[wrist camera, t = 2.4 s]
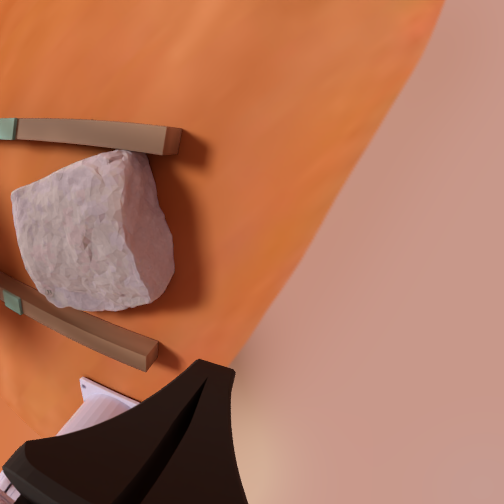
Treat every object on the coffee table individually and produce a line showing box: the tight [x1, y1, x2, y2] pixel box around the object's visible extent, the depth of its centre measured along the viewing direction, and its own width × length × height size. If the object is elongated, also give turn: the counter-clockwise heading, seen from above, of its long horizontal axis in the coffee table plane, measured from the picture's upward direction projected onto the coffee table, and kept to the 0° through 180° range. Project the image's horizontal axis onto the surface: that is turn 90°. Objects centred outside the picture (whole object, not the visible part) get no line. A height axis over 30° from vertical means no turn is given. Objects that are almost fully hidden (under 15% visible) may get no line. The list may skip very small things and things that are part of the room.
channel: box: [0, 118, 182, 372], centre depth 20 cm, size 16×22×2 cm
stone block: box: [11, 150, 175, 311], centre depth 19 cm, size 12×5×10 cm
